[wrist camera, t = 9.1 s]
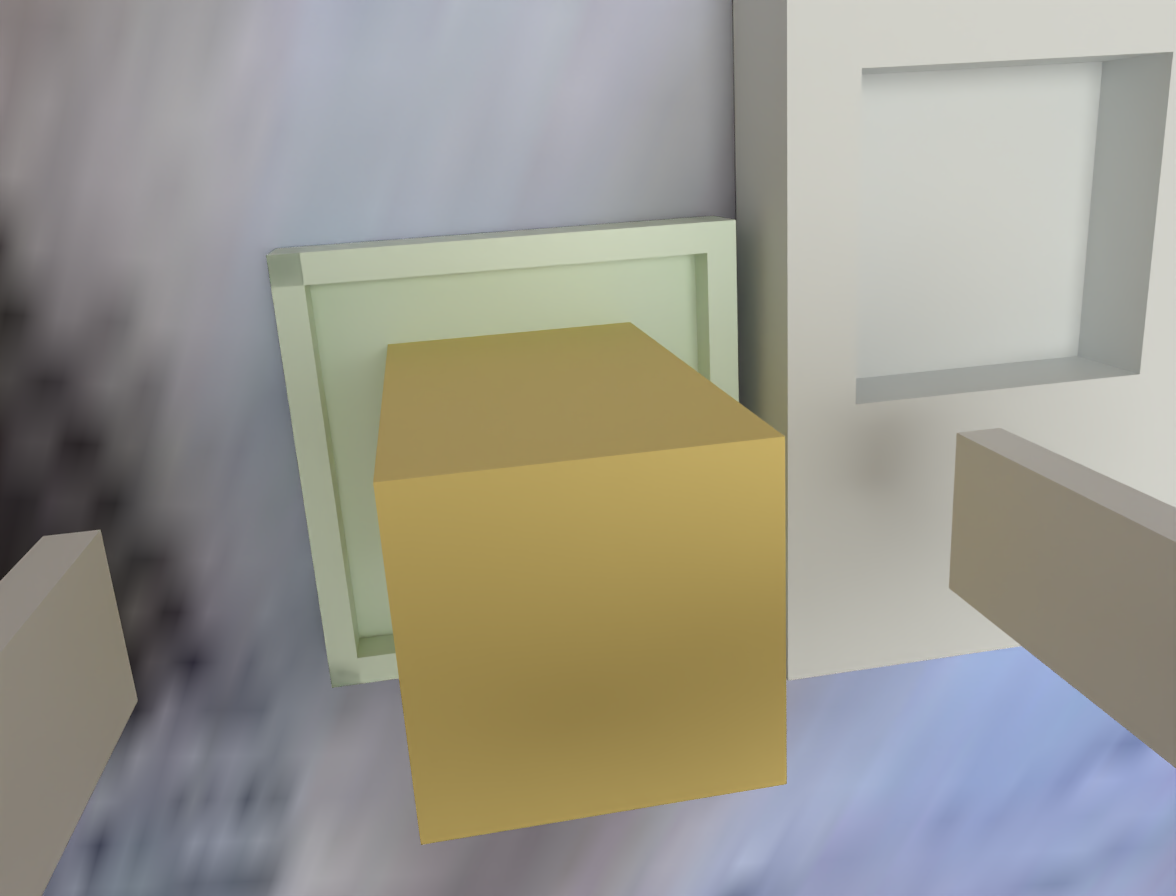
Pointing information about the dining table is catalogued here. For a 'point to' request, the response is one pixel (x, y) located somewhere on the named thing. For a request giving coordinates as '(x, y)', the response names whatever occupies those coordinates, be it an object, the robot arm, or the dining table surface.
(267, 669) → the dining table surface
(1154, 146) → the recessed block
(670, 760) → the block
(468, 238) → the tray
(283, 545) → the dining table surface
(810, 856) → the dining table surface
